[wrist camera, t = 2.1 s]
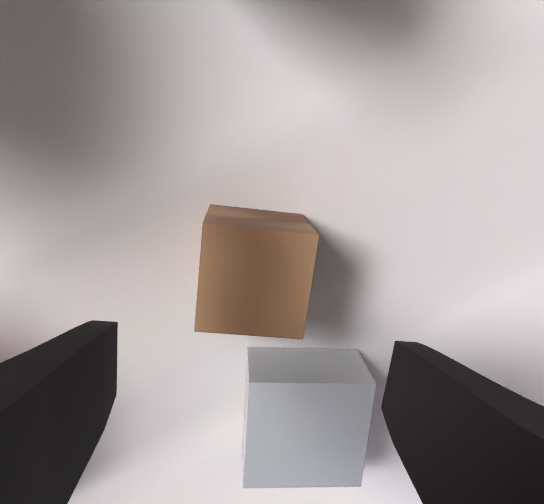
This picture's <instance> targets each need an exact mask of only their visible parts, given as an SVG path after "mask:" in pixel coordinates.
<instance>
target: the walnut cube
mask: <svg viewBox="0 0 544 504" xmlns="http://www.w3.org/2000/svg"><path fill="white" fill-rule="evenodd" d="M318 240H319V234H318V233H317V232H316V231H315V229H314V228H313V227H312V226H311V224H310V223H309V222H308V221H307V220H306V218H305V217H304V216H303V215H302V214H295V213H286V212H276V211H267V210H258V209H248V208H239V207H229V206H220V205H210V206H209V209H208V211H207V214H206V216H205V219H204V221H203V227H202V240H201V253H200V265H199V278H198V291H197V304H196V317H195V330H194V332H208V333H222V334H236V335H250V336H263V337H277V338H291V339H303V337H304V331H305V324H306V318H307V311H308V305H309V298H310V292H311V285H312V279H313V272H314V266H315V259H316V253H317V246H318Z"/></svg>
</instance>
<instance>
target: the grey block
mask: <svg viewBox="0 0 544 504" xmlns="http://www.w3.org/2000/svg"><path fill="white" fill-rule="evenodd" d="M375 390H376V382H375V380H374V378H373V377H372V375H371V373H370V371H369V369H368V368H367V366H366V364H365V362H364V360H363V359H362V357H361V355H360V353H359V351H358V350H357V349H328V348H277V347H247V366H246V384H245V403H244V421H243V440H242V447H243V488H298V487H361V482H362V476H363V469H364V463H365V456H366V449H367V443H368V436H369V430H370V423H371V417H372V410H373V403H374V397H375Z"/></svg>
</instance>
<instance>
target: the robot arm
mask: <svg viewBox="0 0 544 504" xmlns="http://www.w3.org/2000/svg"><path fill="white" fill-rule="evenodd" d="M117 328H118V322H108V321H93V320H92V321H89V322H86V323H84V324H82V325H80V326H77V327H75V328H73V329H71V330H69V331H67V332H65V333H63V334H61V335H59V336H57V337H55V338H53V339H51V340H49V341H47V342H45V343H43V344H41V345H39V346H37V347H35V348H33V349H31V350H28V351H26V352H24V353H22V354H20V355H17V356H15V357H13V358H11V359H8V360H6V361H4V362H2V363H0V504H67V503H68V501H69V499H70V497H71V495H72V493H73V491H74V489H75V487H76V485H77V483H78V481H79V479H80V477H81V475H82V473H83V471H84V470H85V468H86V466H87V464H88V462H89V460H90V458H91V456H92V454H93V452H94V450H95V447H96V445H97V443H98V441H99V439H100V437H101V435H102V433H103V431H104V429H105V426H106V423H107V420H108V418H109V415H110V412H111V409H112V406H113V403H114V400H115V397H116V390H117ZM381 408H382V411H383V415H384V418H385V421H386V424H387V427H388V430H389V433H390V436H391V439H392V442H393V444H394V446H395V448H396V450H397V452H398V454H399V456H400V458H401V461H402V463H403V465H404V467H405V469H406V471H407V473H408V475H409V477H410V479H411V481H412V483H413V485H414V487H415V489H416V491H417V493H418V495H419V497H420V499H421V501H422V503H423V504H544V406H541V405H539V404H537V403H535V402H533V401H531V400H529V399H527V398H525V397H523V396H521V395H519V394H517V393H515V392H513V391H511V390H509V389H507V388H505V387H503V386H501V385H499V384H497V383H495V382H493V381H491V380H490V379H488V378H486V377H484V376H482V375H480V374H478V373H477V372H475V371H473V370H471V369H469V368H468V367H466V366H464V365H462V364H460V363H458V362H457V361H455V360H453V359H451V358H449V357H447V356H446V355H444V354H442V353H440V352H438V351H436V350H434V349H432V348H430V347H428V346H425V345H423V344H420V343H417V342H404V341H395V344H394V349H393V354H392V358H391V363H390V368H389V373H388V377H387V382H386V387H385V392H384V396H383V401H382V406H381Z"/></svg>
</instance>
